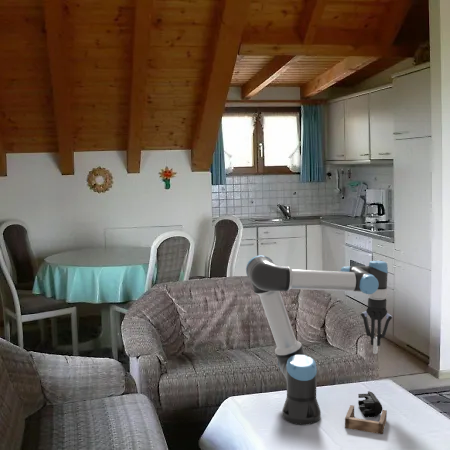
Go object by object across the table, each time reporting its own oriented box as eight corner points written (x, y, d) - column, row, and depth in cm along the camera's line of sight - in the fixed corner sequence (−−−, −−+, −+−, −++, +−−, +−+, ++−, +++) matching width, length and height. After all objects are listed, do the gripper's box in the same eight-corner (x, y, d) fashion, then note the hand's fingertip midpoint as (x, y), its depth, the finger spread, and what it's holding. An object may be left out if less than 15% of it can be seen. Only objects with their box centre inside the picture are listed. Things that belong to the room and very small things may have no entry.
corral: (344, 428, 219) (345, 418, 219) (350, 414, 230) (350, 405, 230) (382, 434, 214) (382, 424, 214) (386, 420, 225) (386, 410, 225)
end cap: (382, 417, 228) (382, 401, 227) (364, 418, 227) (365, 402, 226) (374, 406, 237) (375, 390, 237) (357, 407, 237) (358, 391, 236)
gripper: (394, 297, 241) (392, 352, 244) (363, 294, 246) (361, 348, 249) (392, 301, 234) (390, 357, 237) (359, 298, 240) (358, 353, 242)
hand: (375, 352), depth 243 cm, fingers closed
